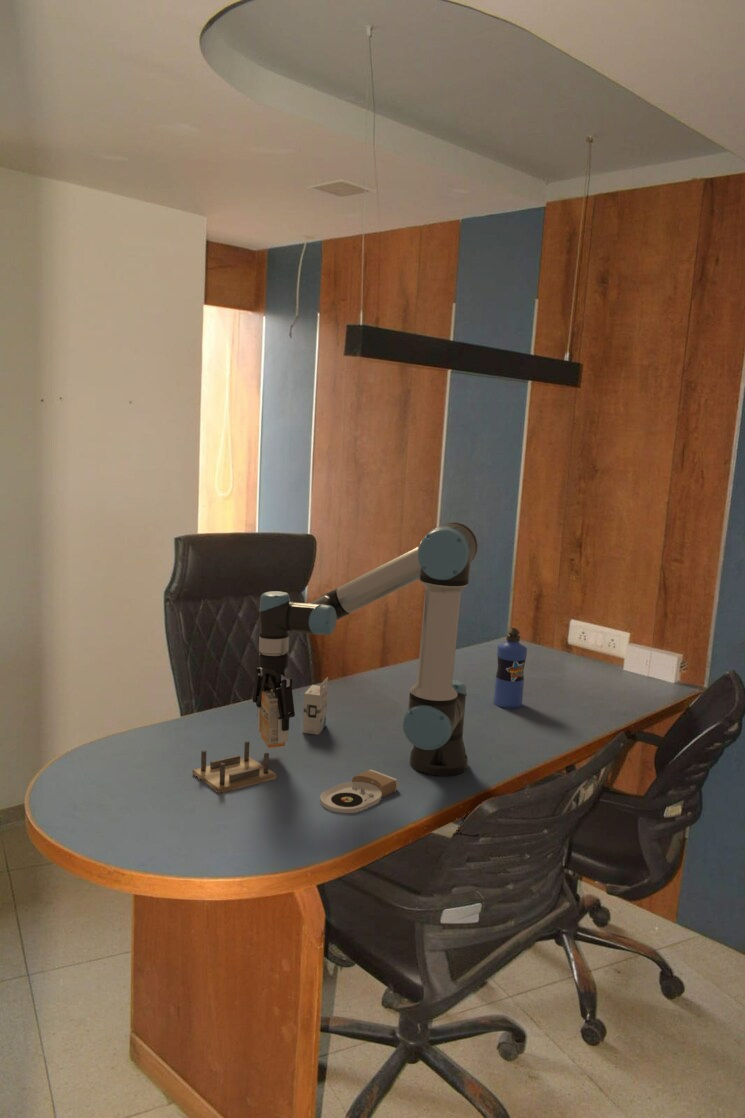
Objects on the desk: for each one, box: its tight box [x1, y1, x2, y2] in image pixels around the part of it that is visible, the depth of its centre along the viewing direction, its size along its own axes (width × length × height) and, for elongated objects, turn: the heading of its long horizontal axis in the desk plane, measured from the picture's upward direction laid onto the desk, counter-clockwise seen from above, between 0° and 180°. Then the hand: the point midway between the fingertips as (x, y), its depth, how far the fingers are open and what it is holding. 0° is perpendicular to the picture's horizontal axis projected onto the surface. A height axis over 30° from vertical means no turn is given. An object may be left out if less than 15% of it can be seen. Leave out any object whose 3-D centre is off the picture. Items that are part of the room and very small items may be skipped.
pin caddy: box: [192, 740, 277, 794], centre depth 218 cm, size 13×16×6 cm
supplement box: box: [260, 689, 286, 749], centre depth 230 cm, size 8×5×13 cm, turn 21°
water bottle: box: [493, 627, 528, 710], centre depth 284 cm, size 9×9×25 cm
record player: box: [319, 769, 399, 814], centre depth 211 cm, size 12×3×20 cm
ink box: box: [302, 676, 329, 735], centre depth 253 cm, size 9×5×15 cm, turn 168°
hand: (272, 736), depth 231 cm, fingers closed on supplement box, 9 cm apart
